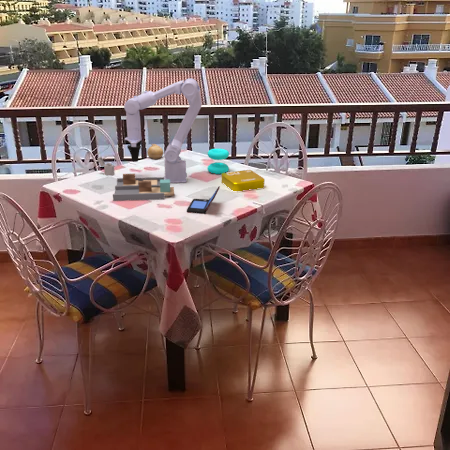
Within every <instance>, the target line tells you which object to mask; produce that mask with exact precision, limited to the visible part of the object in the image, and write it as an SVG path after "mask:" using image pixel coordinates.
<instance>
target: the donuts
mask: <svg viewBox="0 0 450 450" xmlns="http://www.w3.org/2000/svg"><path fill="white" fill-rule="evenodd" d="M229 156H230V152H229V151H228V150H227V149H224V148H211V149H209V150H208V151H207V157H209V159H211V160H214V161H217V162H212V163H209V165H208V166H207V167H206V168H207V171H208V172H209V173H210V172H211V173H210V174H213V173H215V174H216V175H221V174H220V173H225V172H226V173H227V171H228V172H229V170H230V167H229V165H228V164H226V163H225V162H218V161H222V160H226V159H227V158H228V157H229ZM215 174H214V175H215Z"/></svg>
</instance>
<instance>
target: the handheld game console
mask: <svg viewBox="0 0 450 450" xmlns="http://www.w3.org/2000/svg"><path fill="white" fill-rule="evenodd" d="M220 187H221V186H217V188H216V190H215V191H214V193H213V194H212V195H211V197H210V198H208V199H207V198H205V199H204V198H193V199H192V200H191V202H190V204H189V206H188V207H187V208H186V212H187V213H189V214H199V215H200V214H204V215H206V214H207V212H208V209H209V207H210V205H211V204H212V203H213V201H214V199H215V198H216V195H218V191H219V189H220Z"/></svg>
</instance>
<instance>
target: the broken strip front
mask: <svg viewBox="0 0 450 450" xmlns="http://www.w3.org/2000/svg"><path fill="white" fill-rule="evenodd" d="M122 178H123V186H125V185H138V180H135V178H136V173H122Z"/></svg>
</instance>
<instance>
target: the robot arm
mask: <svg viewBox="0 0 450 450" xmlns="http://www.w3.org/2000/svg"><path fill="white" fill-rule="evenodd" d="M174 94H176V95H180V96H181V95H183V97H184V98H185V99H186V100H187V102H188V105H189V107H188V109H187V110H186V112H185V114H184V117H183V119H182V121H181V122H180V125H179V127H178V129H177V131H176V133H175V134H174V137H173V139H172V141H171V142H170V143H169V144H168V145H167V147H166V150H165V151H164V152H163V157H164V176H163V177H164V180H165V179H170V184H172V183H179V184H180V183H187V177H188V173H187V161H186V160H183V159H182V158H181V156H180V154H181V151H182V147H183V144H184V142H185V140H186V138H187V137H188V134H189V133H190V131H191V129H192V127H193V124H194V122H195V120H196V118H197V116H198V115H199V113H200V110H201V109H202V106H203V104H202V95H201V88H200V85H199V84H198V81H197V80H196V79H194V78H192V77H190V78H189V77H188V78H187V79H182V80H180V81H175V82H173V83H171V84H170V85H167V86H165V87H163V88H161V89H158V90H156V91H152V90H145V91H143V93H141V94H139V95H134V96H133V97H131V98H129V99H128V100H127V101H125V103H124V107H123V109H124V111H125V114H126V116H125V117H126V120H125V121H126V132H127V133H126V134H127V136H126V137H125V138H124V141H128V143H129V144H127V147H126V148H127V149H128V151H129V153H130V157H131V160H132V162H136V163H138V161H139V156H140V151H141V150H140V149H141V148H142V145H141V144H142V142H143V140H142V138H143V137H142V130H141V128H142V127H141V125H142V124H141V116H140V115H141V114H140V110H144V109H147V108H150V107H152V106H154V105H156V104H157V101H159V100H160V99H163V98H166V97H168V96H171V95H174Z"/></svg>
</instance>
